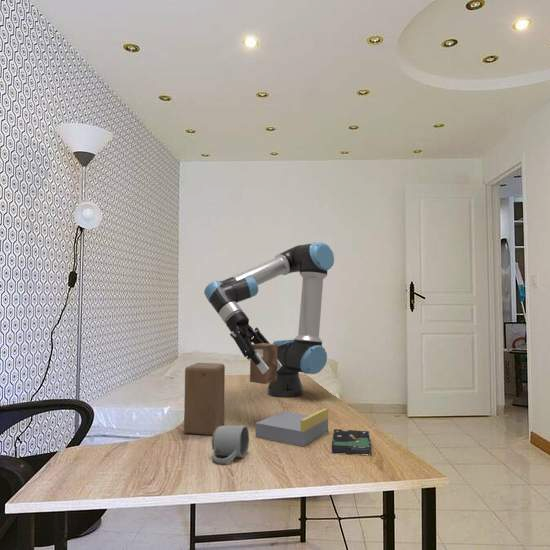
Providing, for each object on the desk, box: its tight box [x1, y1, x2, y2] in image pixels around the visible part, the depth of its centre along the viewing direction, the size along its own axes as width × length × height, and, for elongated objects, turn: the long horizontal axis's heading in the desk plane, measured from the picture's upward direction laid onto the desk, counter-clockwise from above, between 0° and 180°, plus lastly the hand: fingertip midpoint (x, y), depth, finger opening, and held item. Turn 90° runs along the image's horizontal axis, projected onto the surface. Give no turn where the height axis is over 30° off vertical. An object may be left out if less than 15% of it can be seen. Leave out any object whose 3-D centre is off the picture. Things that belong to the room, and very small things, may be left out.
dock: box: [255, 407, 329, 447], centre depth 131 cm, size 16×16×7 cm
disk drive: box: [331, 428, 372, 455], centre depth 121 cm, size 10×3×15 cm
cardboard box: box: [249, 343, 278, 385], centre depth 143 cm, size 7×6×12 cm
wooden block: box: [183, 362, 226, 436], centre depth 135 cm, size 10×10×20 cm
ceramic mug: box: [211, 425, 250, 465], centre depth 112 cm, size 11×8×8 cm
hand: (272, 369), depth 141 cm, fingers closed on cardboard box, 7 cm apart
